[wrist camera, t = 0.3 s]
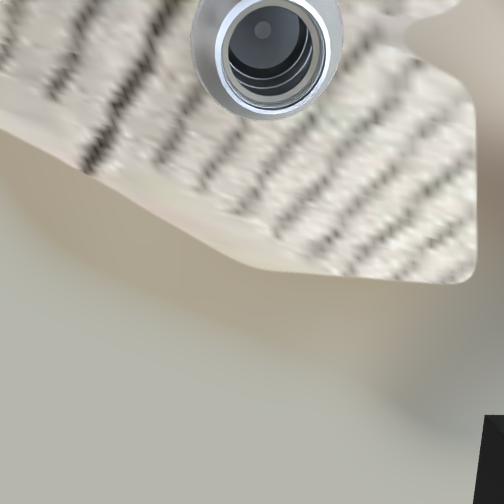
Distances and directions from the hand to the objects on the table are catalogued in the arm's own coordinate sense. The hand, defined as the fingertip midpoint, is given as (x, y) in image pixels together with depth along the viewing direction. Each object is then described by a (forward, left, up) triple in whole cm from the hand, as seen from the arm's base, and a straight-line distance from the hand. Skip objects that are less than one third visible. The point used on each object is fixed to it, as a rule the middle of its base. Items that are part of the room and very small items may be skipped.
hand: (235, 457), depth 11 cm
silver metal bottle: (-7, -5, -28) cm, 29 cm away
